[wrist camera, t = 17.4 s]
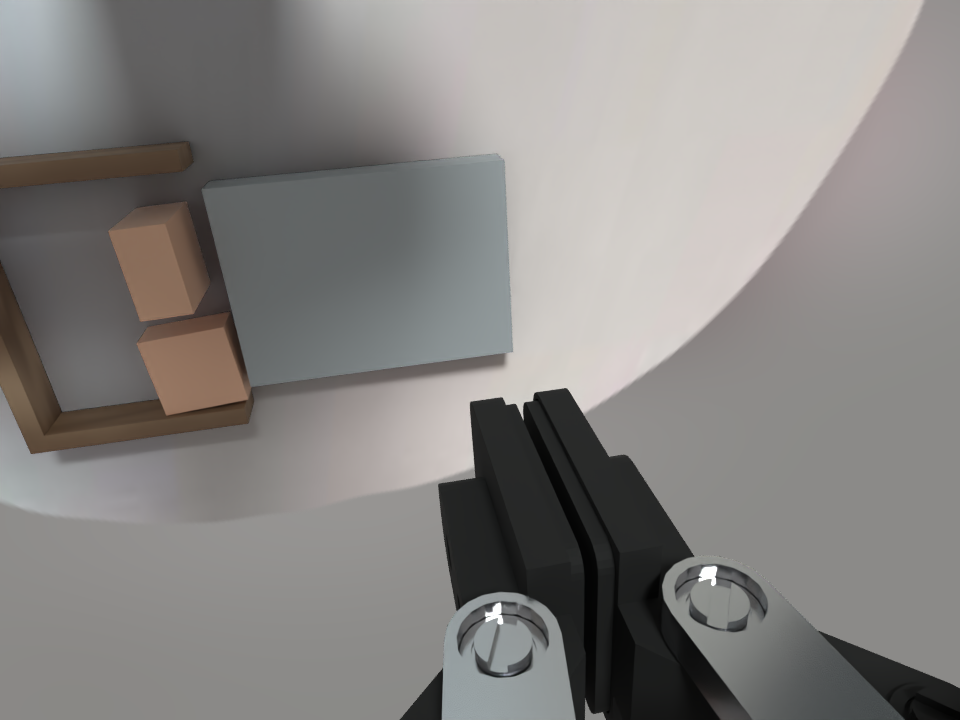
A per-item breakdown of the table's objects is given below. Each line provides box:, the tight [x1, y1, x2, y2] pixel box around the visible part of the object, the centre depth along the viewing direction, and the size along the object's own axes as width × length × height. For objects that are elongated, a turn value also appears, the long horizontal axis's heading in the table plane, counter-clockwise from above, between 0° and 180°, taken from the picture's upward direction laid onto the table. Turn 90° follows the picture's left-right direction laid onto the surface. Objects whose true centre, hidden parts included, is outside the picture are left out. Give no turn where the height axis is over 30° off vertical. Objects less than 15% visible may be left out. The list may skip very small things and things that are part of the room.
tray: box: [0, 141, 254, 454], centre depth 35 cm, size 15×12×2 cm
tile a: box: [108, 201, 211, 322], centre depth 33 cm, size 4×4×2 cm
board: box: [201, 154, 513, 387], centre depth 37 cm, size 11×15×2 cm
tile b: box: [136, 312, 252, 416], centre depth 37 cm, size 4×4×2 cm
